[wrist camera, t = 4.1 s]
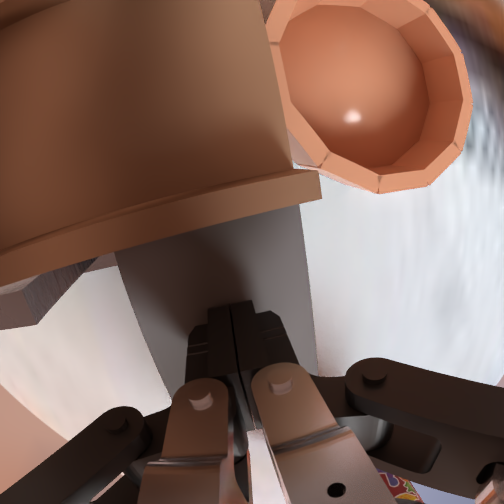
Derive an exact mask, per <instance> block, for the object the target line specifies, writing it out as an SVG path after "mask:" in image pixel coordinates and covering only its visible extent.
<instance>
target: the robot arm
mask: <svg viewBox="0 0 504 504" xmlns="http://www.w3.org/2000/svg"><path fill="white" fill-rule="evenodd" d="M231 311H232V313H231ZM251 411H252V412H251ZM252 415H253V418H254V422H255V425H256V428H257V429H261V428H262V429H263V433H264V436H265V440H266V444H267V447H268V451H269V454H270V457H271V460H272V463H273V466H274V469H275V472H276V475H277V478H278V481H279V484H280V487H281V490H282V492H283V495H284V498H285V501H286V504H425V503H421V502H418V501H414V500H409V499H401V498H394V497H393V495H392V494H391V492H390V491H389V489H388V487H387V486H386V484H385V482H384V481H383V479H382V478H381V476H380V474H379V473H378V471H377V470H376V468H377V469H379V470H382V471H384V472H387V473H390V474H392V475H395V476H398V477H401V478H403V479H406V480H409V481H412V482H415V483H418V484H421V485H424V486H427V487H431V488H434V489H437V490H440V491H444V492H447V493H451V494H455V495H459V496H463V497H466V498H471V499H475V504H504V388H502V387H497V386H492V385H488V384H483V383H479V382H474V381H470V380H466V379H461V378H457V377H453V376H449V375H445V374H441V373H437V372H433V371H429V370H425V369H422V368H418V367H414V366H410V365H407V364H403V363H399V362H396V361H392V360H389V359H385V358H367V359H363V360H361V361H358V362H356V363H355V364H353V365H352V366H351V367H350V368H349V369H348V371H347V372H346V375H345V376H343V377H319V376H315V375H312V374H310V373H308V372H307V371H306V369H304V368H303V367H302V366H300V364H299V362H298V359H297V357H296V354H295V352H294V349H293V347H292V345H291V342H290V340H289V337H288V335H287V332H286V330H285V328H284V325H283V323H282V320H281V318H280V316H278V315H277V314H275V313H274V312H272V311H271V310H269V311H265V312H260V313H255V309H254V306H253V302H252V300H247V301H242V302H237V303H233V304H231V309H230V305H229V304H228V305H223V306H219V307H214V308H209V309H208V324H202V325H197V326H195V327H194V328H193V330H192V331H191V333H190V334H189V335H188V347H187V357H186V369H185V382H184V385H183V386H181V387H180V388H179V389H178V390H177V391H176V392H175V394H174V396H173V399H172V404H171V406H170V407H168V408H166V409H164V410H162V411H159V412H156V413H154V414H151V415H148V416H145V417H143V416H142V414H141V413H140V412H139V411H138V410H137V409H135V408H133V407H128V406H121V407H116V408H113V409H110V410H108V411H106V412H105V413H103V414H102V415H101V416H100V417H98V418H97V419H96V420H95V421H93V422H92V423H91V424H90V425H89V426H87V427H86V428H85V429H84V430H82V431H81V432H80V433H79V434H77V435H76V436H75V437H74V438H72V439H71V440H70V441H69V442H68V443H66V444H65V445H64V446H62V447H61V448H60V449H59V450H57V451H56V452H55V453H54V454H52V455H51V456H50V457H49V458H47V459H46V460H45V461H44V462H42V463H41V464H40V465H38V466H37V467H36V468H35V469H33V470H32V471H30V472H29V473H28V474H27V475H25V476H24V477H23V478H21V479H20V480H19V481H18V482H16V483H15V484H14V485H12V486H11V487H10V488H8V489H7V490H6V491H4V492H3V493H2V494H0V504H253V497H252V482H251V466H250V453H249V449H248V437H247V431H252V430H255V429H254V423H253V418H252ZM122 472H123V473H124V474H125V475H124V476H123V477H122V478H120V479H119V480H118V481H117V482H116V483H115V484H114V485H113V486H112V487H111V488H109V489H108V490H107V491H106V492H105V493H104V494H103V495H102V496H101V497H99V498H98V499H97V500H95V501H93V502H90V501H91V499H92V498H93V497H94V496H96V495H97V494H98V493H99V492H100V491H101V490H103V489H104V488H105V487H106V486H107V485H108V484H109V483H110V482H112V481H113V480H114V479H115V478H116V477H117V476H118V475H119V474H120V473H122Z"/></svg>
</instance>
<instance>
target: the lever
mask: <svg viewBox="0 0 504 504" xmlns="http://www.w3.org/2000/svg"><path fill="white" fill-rule="evenodd" d="M318 199H322V195H321V187H320V180H319V173H318V170H305V169H293V163H292V157H291V151H290V145H289V139H288V134H287V128H286V123H285V117H284V112H283V107H282V102H281V96H280V91H279V86H278V81H277V76H276V72H275V67H274V62H273V58H272V53H271V48H270V44H269V39H268V35H267V31H266V26H265V22H264V18H263V14H262V10H261V6H260V2H259V0H0V287H3V286H6V285H9V284H12V283H15V282H18V281H21V280H24V279H27V278H30V277H33V276H36V275H40V274H43V273H46V272H49V271H52V270H55V269H59V268H62V267H65V266H68V265H72V264H75V263H78V262H82V261H85V260H88V259H92V258H95V257H98V256H102V255H105V254H109V253H112V252H114V254H115V258H116V261H117V264H118V267H119V270H120V273H121V276H122V279H123V282H124V285H125V288H126V291H127V294H128V296H129V299H130V302H131V305H132V307H133V310H134V313H135V315H136V318H137V321H138V323H139V326H140V328H141V331H142V333H143V336H144V338H145V341H146V343H147V346H148V348H149V350H150V353H151V355H152V357H153V360H154V362H155V364H156V367H157V369H158V371H159V373H160V375H161V378H162V380H163V382H164V384H165V386H166V388H167V391H168V393H169V395H170V397H171V399H173V396H174V394H175V392H176V391H177V390H178V389H179V388H180V387H181V386H183V385H184V382H185V369H186V357H187V347H188V335H189V334H190V333H191V331H192V330H193V328H194V327H195V326H197V325H202V324H208V309H209V308H214V307H219V306H223V305H228V304H229V305H230V309H231V304H233V303H237V302H242V301H247V300H252V302H253V306H254V309H255V313H260V312H265V311H269V310H271V311H272V312H274V313H275V314H277V315H278V316H280V318H281V320H282V323H283V325H284V328H285V330H286V332H287V335H288V337H289V340H290V342H291V345H292V347H293V349H294V352H295V354H296V357H297V359H298V362H299V364H300V366H302V367H303V368H304V369H306V371H307V372H308V373H310V374H312V375H315V376H318V366H317V354H316V342H315V332H314V321H313V312H312V302H311V293H310V284H309V276H308V267H307V259H306V251H305V244H304V236H303V229H302V222H301V215H300V208H299V204H301V203H305V202H310V201H314V200H318ZM231 313H232V311H231Z"/></svg>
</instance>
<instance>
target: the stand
mask: <svg viewBox="0 0 504 504" xmlns="http://www.w3.org/2000/svg"><path fill="white" fill-rule="evenodd" d="M116 265H118V264H117V261H116V258H115V254H114V252H112V253H109V254H105V255H102V256H98V257H95V258H92V259H88V260H85V261H82V262H78V263H75V264H72V265H68V266H65V267H62V268H59V269H55V270H52V271H49V272H46V273H43V274H40V275H36V276H33V277H30V278H27V279H24V280H21V281H18V282H15V283H12V284H9V285H6V286H3V287H0V330H5V329H12V328H18V327H25V326H32V325H37V324H38V323H39V321H40V320H41V319H42V318H43V317H44V316H45V314H46V313H47V312H48V311H49V310H50V309H51V308H52V306H53V305H54V304H55V303H56V302H57V301H58V300H59V299H60V298H61V296H62V295H63V294H64V293H65V292H66V291H67V290H68V289H69V288H70V287H71V285H72V284H73V283H74V282H75V281H76V280H77V279H78V278H79V277H80V276H81V275H82V274H83V273H85V272H90V271H94V270H98V269H103V268H107V267H112V266H116Z"/></svg>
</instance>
